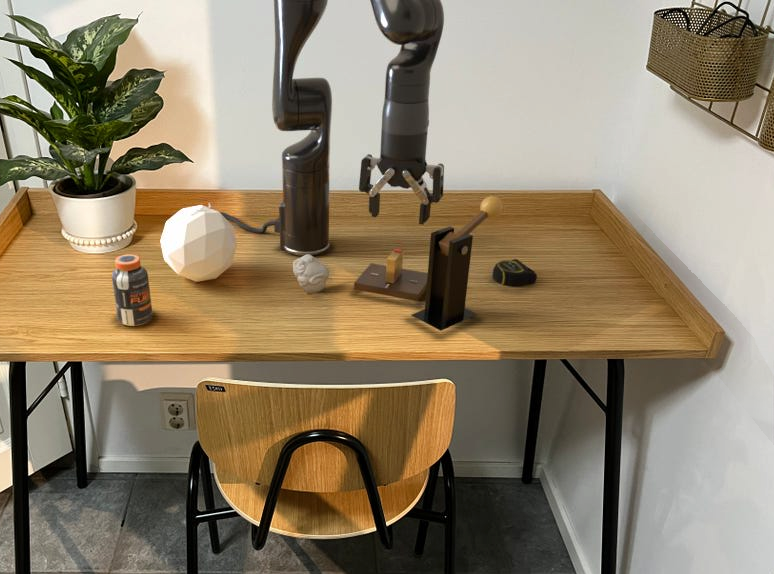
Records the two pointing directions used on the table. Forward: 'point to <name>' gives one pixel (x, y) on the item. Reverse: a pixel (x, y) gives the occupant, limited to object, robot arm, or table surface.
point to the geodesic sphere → (198, 243)
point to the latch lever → (475, 221)
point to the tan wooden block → (394, 266)
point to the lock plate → (404, 287)
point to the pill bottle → (131, 291)
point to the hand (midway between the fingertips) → (398, 219)
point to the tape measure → (513, 273)
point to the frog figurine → (310, 274)
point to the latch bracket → (447, 282)
